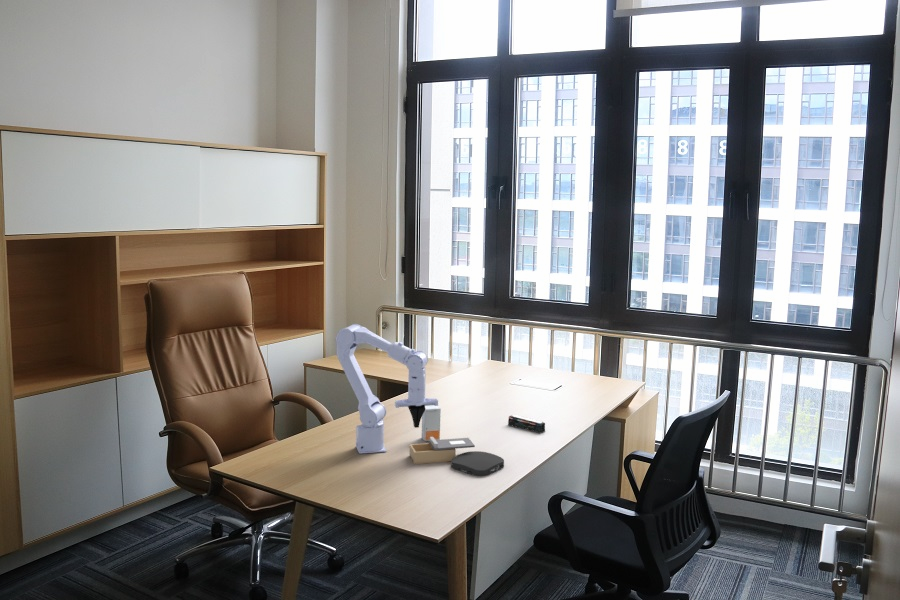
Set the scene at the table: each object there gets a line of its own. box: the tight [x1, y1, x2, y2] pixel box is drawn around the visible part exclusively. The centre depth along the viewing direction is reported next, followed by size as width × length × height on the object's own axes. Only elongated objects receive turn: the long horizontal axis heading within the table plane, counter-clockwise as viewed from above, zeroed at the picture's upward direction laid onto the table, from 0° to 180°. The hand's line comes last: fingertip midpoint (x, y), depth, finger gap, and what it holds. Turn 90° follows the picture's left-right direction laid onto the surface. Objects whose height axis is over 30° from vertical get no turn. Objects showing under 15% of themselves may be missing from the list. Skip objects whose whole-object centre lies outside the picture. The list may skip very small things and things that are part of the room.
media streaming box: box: [450, 450, 505, 477], centre depth 254 cm, size 15×15×3 cm
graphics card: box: [507, 414, 546, 434], centre depth 296 cm, size 14×25×4 cm, turn 50°
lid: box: [428, 437, 476, 450], centre depth 261 cm, size 14×8×2 cm, turn 105°
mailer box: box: [409, 442, 457, 465], centre depth 260 cm, size 14×8×4 cm, turn 105°
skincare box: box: [421, 405, 441, 442], centre depth 279 cm, size 6×4×12 cm
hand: (416, 426), depth 262 cm, fingers closed
